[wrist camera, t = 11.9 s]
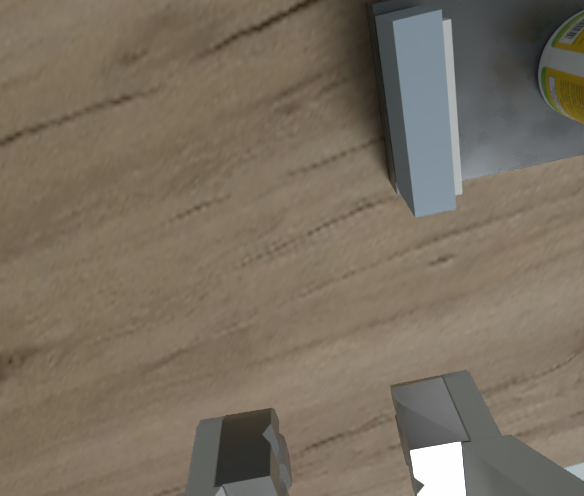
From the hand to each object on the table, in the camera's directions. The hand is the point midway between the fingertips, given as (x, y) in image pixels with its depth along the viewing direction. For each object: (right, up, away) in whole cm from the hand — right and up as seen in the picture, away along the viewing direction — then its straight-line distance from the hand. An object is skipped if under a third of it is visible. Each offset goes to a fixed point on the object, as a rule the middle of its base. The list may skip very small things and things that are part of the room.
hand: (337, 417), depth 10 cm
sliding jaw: (+5, +11, +16) cm, 20 cm away
